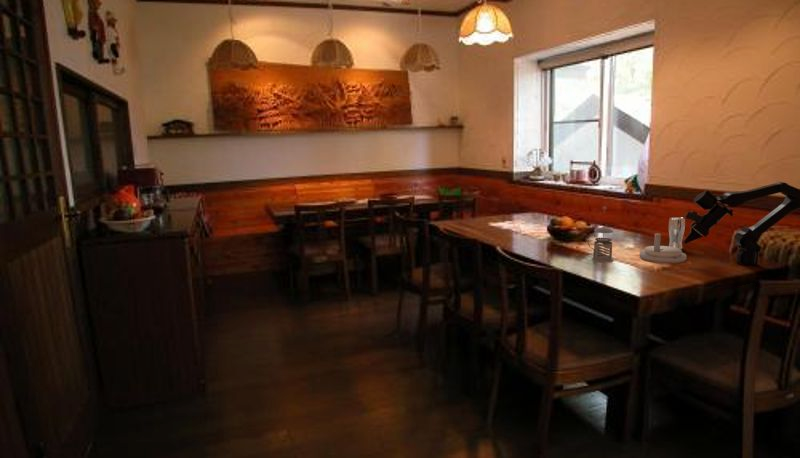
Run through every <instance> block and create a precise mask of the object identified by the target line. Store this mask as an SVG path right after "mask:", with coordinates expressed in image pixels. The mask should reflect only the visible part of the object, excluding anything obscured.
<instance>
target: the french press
mask: <svg viewBox="0 0 800 458" xmlns="http://www.w3.org/2000/svg"><path fill="white" fill-rule="evenodd" d="M607 208H608V207H607V206H602V209H601V210H603V213H605V211H606V210H607ZM594 232H595V233H591V234H590V235H588V237H587V245H588V247H589V248H590V249H591V250H593V253H592V254H593V255H592V258H591V261H593V262H597V263H612V262H614V261H615V260H614V259H613V257H612V255H613V242H612V239H611V238H609V237H604V236H605V235H604V234H612V233H613V232H614V230H613V229H612V228H610V227H605V226H601V227H597V228H595V229H594ZM596 233H599V234H602V237H596ZM592 236H594V237H596V238H595V239H594V240H595V241H594V242H593V243H594V244H593V247H591V245H590V243H589V242H590V238H591V237H592Z"/></svg>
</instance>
